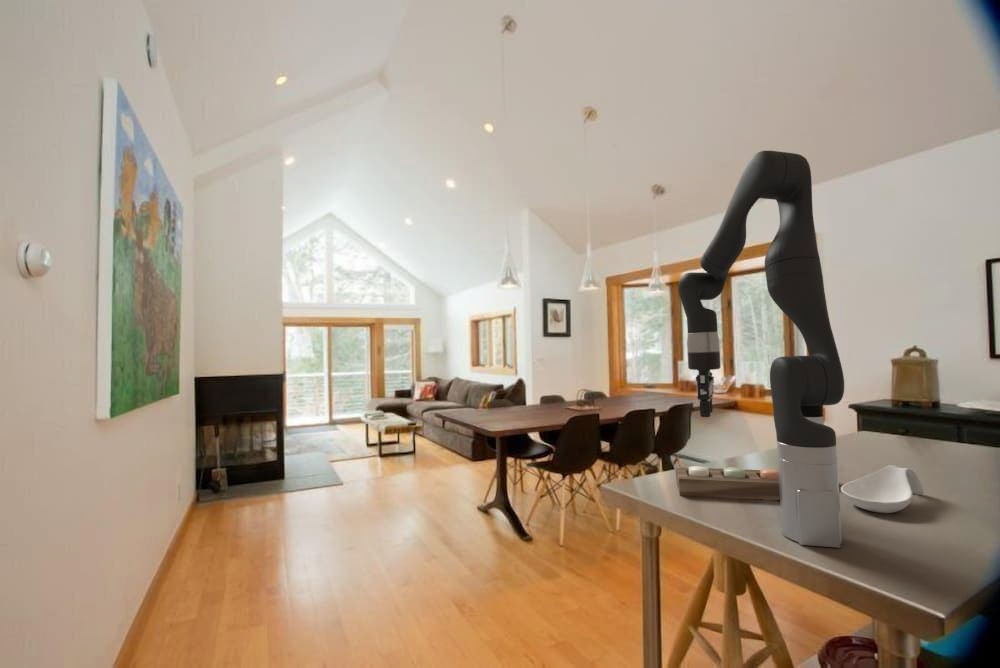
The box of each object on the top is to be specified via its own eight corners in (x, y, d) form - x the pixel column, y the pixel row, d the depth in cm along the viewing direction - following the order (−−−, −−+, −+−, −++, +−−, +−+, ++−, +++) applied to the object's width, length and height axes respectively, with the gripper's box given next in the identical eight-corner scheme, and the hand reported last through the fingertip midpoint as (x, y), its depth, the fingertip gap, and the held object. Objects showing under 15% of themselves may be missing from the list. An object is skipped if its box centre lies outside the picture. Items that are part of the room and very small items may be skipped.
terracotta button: (785, 486, 107) (785, 474, 108) (763, 485, 109) (762, 473, 109) (779, 480, 112) (779, 469, 112) (758, 479, 113) (758, 468, 113)
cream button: (710, 483, 112) (710, 471, 112) (690, 482, 113) (689, 470, 113) (707, 477, 116) (707, 466, 117) (688, 477, 118) (687, 465, 118)
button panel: (804, 502, 104) (803, 484, 104) (679, 495, 111) (679, 478, 111) (789, 487, 114) (788, 471, 114) (676, 482, 122) (675, 467, 122)
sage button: (747, 484, 110) (746, 472, 110) (726, 483, 111) (725, 471, 111) (743, 479, 114) (742, 467, 114) (722, 478, 116) (722, 467, 116)
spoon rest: (899, 524, 90) (897, 486, 91) (831, 507, 100) (829, 474, 101) (943, 499, 103) (940, 467, 103) (878, 487, 113) (876, 457, 113)
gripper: (718, 350, 110) (721, 419, 109) (721, 349, 123) (724, 411, 122) (684, 351, 114) (687, 418, 113) (690, 350, 126) (693, 410, 126)
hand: (706, 414), depth 118 cm, fingers open, 8 cm apart
